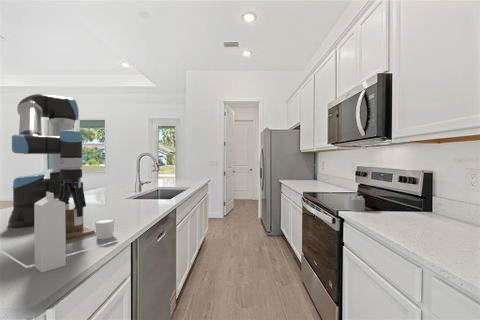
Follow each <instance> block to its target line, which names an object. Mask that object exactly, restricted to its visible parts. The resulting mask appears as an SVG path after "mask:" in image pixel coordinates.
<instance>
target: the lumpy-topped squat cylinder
mask: <svg viewBox="0 0 480 320" xmlns="http://www.w3.org/2000/svg"><path fill="white" fill-rule="evenodd" d="M365 207H366V200H365V198H364V196H363V195H356V194H350V195H349V194H348V195H346V196H344V209H345V210H348V211H351V212H356V213H359V212H360V213H361V212H362V213H363V212H365V211H366V210H365Z"/></svg>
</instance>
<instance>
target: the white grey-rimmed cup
mask: <svg viewBox="0 0 480 320" xmlns="http://www.w3.org/2000/svg"><path fill="white" fill-rule="evenodd" d="M94 226H95V232H96V235H97V236H96V239H98V240H107V239H112V238H113V237H114V230H115V229H114V228H115V219H114V218H104V219H99V220H96V221H94Z"/></svg>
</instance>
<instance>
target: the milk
mask: <svg viewBox="0 0 480 320" xmlns="http://www.w3.org/2000/svg"><path fill="white" fill-rule="evenodd" d="M33 227H34V230H33V232H34V235H33V236H34V268H35V269H36V270H37V271H39V272H40V273H45V272H46V273H47V272H49V271H52V270H56V269H59V268H62V267H63V268H64V267H65V266H66V264H67V263H66V259H67V257H66V253H67V252H66V251H67V250H66V248H67V247H66V245H67V244H66V237H65V203H64V202H62V201H59V200H58V199H54V194H53V193H51V192H46V197H44V198H43V199H41V200H39V201H38V202H36V203H34V226H33Z"/></svg>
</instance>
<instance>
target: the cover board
mask: <svg viewBox="0 0 480 320" xmlns="http://www.w3.org/2000/svg"><path fill="white" fill-rule="evenodd" d="M94 232H95V230H94V229H91V228H88V227H84V223H83V224H81V225H76V226H75V225H74V208H69V210H65V237H66V240H69V239H74V238H78V237H82V236H86V235H90V234H94Z"/></svg>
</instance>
